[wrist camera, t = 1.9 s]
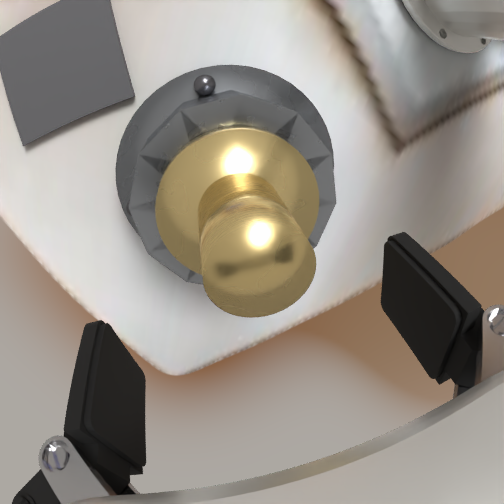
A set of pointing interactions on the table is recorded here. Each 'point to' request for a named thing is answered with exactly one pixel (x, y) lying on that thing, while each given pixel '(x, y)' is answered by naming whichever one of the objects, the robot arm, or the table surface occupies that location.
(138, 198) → the housing
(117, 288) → the table surface
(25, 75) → the mat
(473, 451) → the robot arm
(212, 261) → the brass flanged shaft
